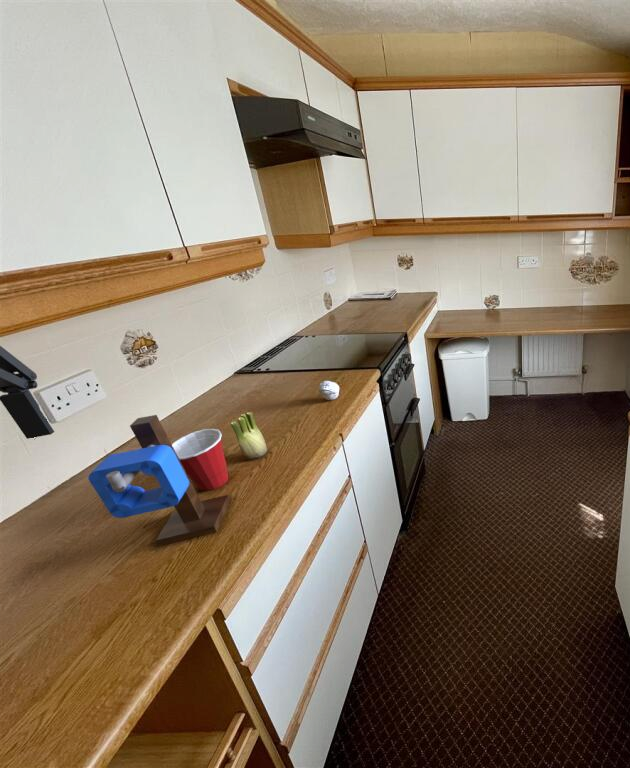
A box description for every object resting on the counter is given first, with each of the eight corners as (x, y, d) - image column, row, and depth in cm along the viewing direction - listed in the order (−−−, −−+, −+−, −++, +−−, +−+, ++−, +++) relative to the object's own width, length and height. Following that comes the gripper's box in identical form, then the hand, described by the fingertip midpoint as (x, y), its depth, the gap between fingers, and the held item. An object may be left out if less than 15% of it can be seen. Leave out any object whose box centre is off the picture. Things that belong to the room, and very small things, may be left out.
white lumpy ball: (318, 405, 130) (311, 385, 127) (328, 395, 137) (322, 376, 133) (336, 404, 130) (330, 385, 127) (345, 394, 136) (340, 375, 133)
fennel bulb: (248, 464, 103) (230, 424, 98) (242, 457, 106) (225, 417, 101) (272, 453, 106) (256, 414, 101) (266, 447, 110) (250, 408, 104)
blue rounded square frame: (181, 504, 72) (156, 458, 68) (114, 520, 70) (84, 473, 65) (192, 487, 77) (169, 443, 72) (129, 501, 74) (101, 456, 70)
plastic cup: (174, 497, 93) (150, 454, 88) (213, 468, 102) (193, 427, 97) (214, 501, 91) (192, 457, 86) (250, 470, 100) (232, 429, 95)
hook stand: (201, 565, 74) (139, 454, 64) (137, 582, 72) (60, 470, 61) (230, 499, 91) (185, 402, 80) (179, 511, 88) (124, 413, 77)
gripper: (-222, 321, 32) (-45, 522, 41) (14, 271, 54) (96, 411, 63) (-365, 336, 30) (-145, 544, 39) (-60, 278, 52) (36, 421, 61)
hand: (3, 462), depth 51 cm, fingers open, 13 cm apart
